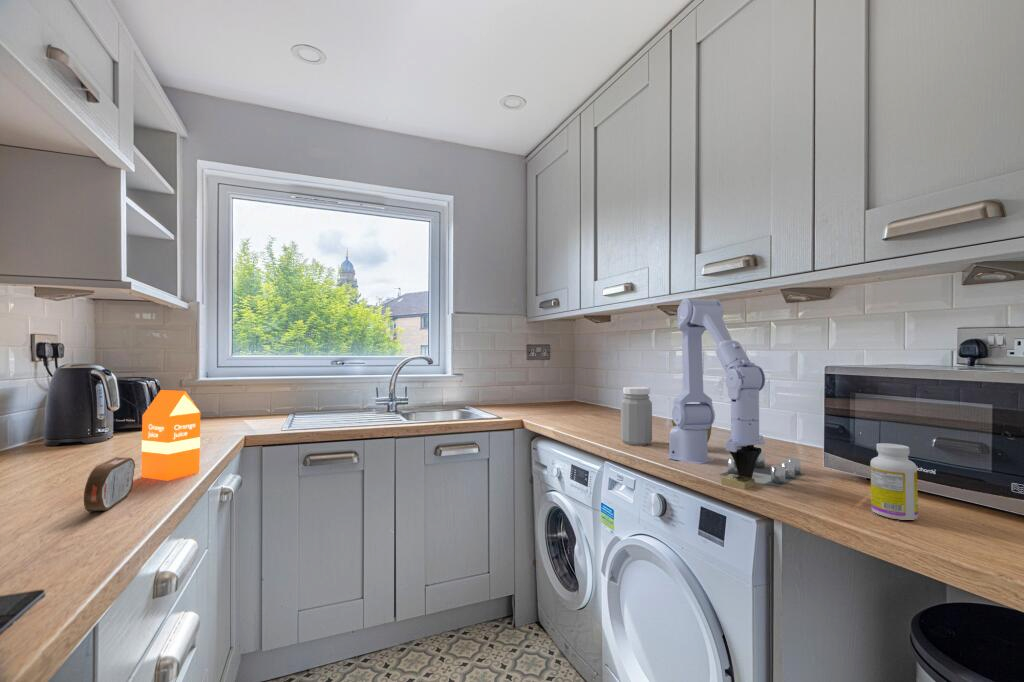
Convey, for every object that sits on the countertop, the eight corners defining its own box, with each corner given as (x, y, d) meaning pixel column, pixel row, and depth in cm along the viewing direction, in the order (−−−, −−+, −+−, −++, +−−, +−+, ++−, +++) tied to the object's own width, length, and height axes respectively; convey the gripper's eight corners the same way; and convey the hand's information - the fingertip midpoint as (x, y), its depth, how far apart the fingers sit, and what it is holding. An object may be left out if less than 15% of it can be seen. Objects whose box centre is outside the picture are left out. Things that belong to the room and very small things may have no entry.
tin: (118, 493, 95) (119, 452, 95) (137, 492, 96) (138, 451, 96) (80, 519, 81) (81, 471, 81) (102, 516, 82) (104, 469, 82)
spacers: (724, 472, 112) (724, 458, 112) (749, 463, 121) (749, 450, 121) (782, 484, 102) (782, 469, 102) (805, 474, 111) (805, 459, 111)
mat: (719, 476, 110) (719, 474, 110) (749, 465, 121) (749, 463, 121) (777, 488, 100) (777, 487, 100) (805, 475, 111) (805, 473, 111)
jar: (615, 440, 153) (615, 386, 153) (640, 439, 156) (640, 386, 156) (631, 447, 143) (631, 389, 144) (658, 445, 146) (658, 388, 147)
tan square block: (721, 487, 102) (721, 477, 102) (731, 483, 105) (731, 473, 106) (744, 492, 98) (744, 482, 98) (754, 488, 102) (754, 478, 102)
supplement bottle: (897, 509, 88) (896, 442, 88) (928, 522, 81) (927, 449, 81) (861, 509, 88) (861, 441, 88) (890, 522, 81) (889, 449, 81)
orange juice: (167, 480, 104) (168, 392, 105) (140, 477, 107) (142, 391, 108) (200, 472, 112) (201, 389, 112) (174, 469, 115) (176, 388, 115)
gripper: (749, 424, 97) (749, 489, 96) (776, 418, 106) (777, 477, 106) (716, 420, 102) (716, 482, 102) (745, 414, 111) (745, 471, 111)
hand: (745, 479), depth 104 cm, fingers closed
